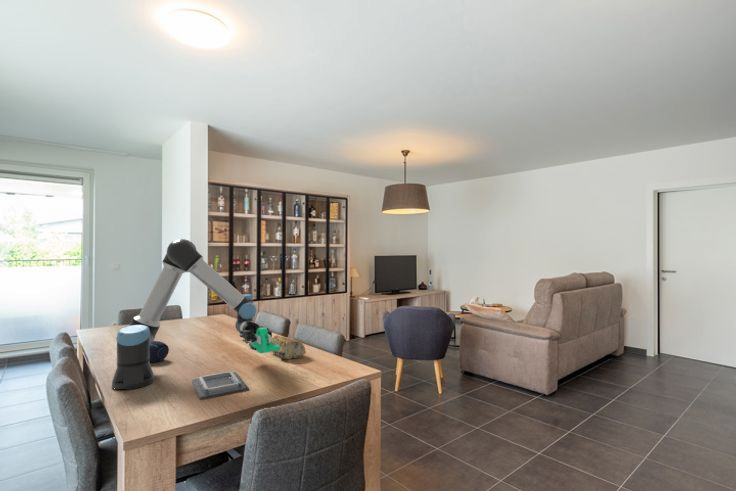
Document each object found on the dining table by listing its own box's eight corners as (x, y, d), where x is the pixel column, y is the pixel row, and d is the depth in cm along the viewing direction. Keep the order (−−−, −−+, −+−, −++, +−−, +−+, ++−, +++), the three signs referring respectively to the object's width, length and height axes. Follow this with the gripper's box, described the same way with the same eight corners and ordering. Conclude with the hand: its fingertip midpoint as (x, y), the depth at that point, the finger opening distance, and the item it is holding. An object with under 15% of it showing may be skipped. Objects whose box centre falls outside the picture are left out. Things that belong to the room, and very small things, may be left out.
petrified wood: (266, 353, 202) (269, 334, 203) (288, 354, 209) (291, 336, 211) (282, 360, 186) (286, 340, 188) (305, 361, 194) (308, 341, 196)
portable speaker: (115, 360, 190) (115, 341, 190) (133, 355, 199) (133, 336, 199) (154, 365, 183) (155, 344, 183) (171, 359, 192) (171, 339, 192)
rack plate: (199, 399, 141) (199, 393, 141) (191, 381, 160) (191, 376, 160) (248, 389, 151) (248, 383, 151) (235, 374, 169) (235, 368, 169)
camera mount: (280, 352, 162) (281, 328, 162) (264, 355, 158) (264, 330, 158) (269, 346, 172) (269, 324, 172) (253, 349, 167) (253, 326, 167)
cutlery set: (256, 352, 204) (256, 348, 204) (239, 342, 229) (239, 338, 229) (290, 347, 216) (290, 343, 216) (270, 338, 240) (270, 334, 240)
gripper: (267, 335, 184) (283, 346, 164) (232, 339, 175) (245, 351, 155) (267, 320, 184) (284, 328, 164) (232, 323, 175) (245, 333, 155)
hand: (265, 339), depth 160 cm, fingers closed on camera mount, 4 cm apart
